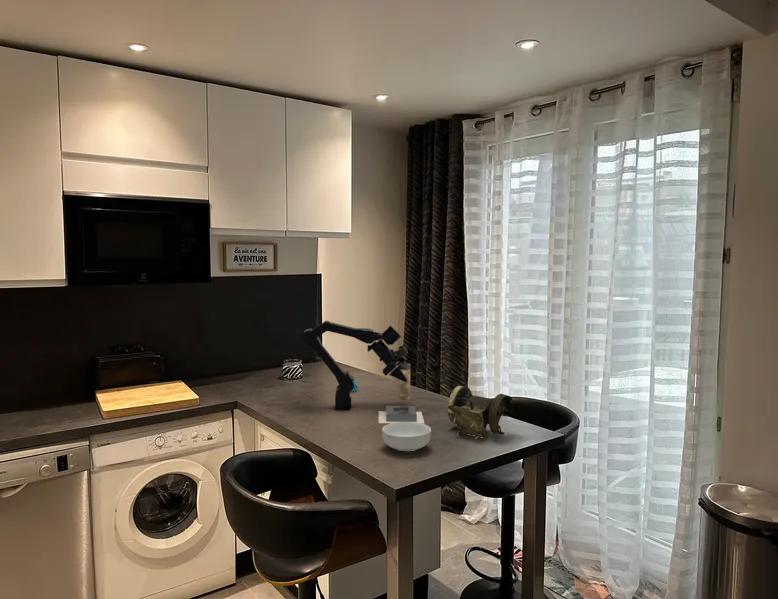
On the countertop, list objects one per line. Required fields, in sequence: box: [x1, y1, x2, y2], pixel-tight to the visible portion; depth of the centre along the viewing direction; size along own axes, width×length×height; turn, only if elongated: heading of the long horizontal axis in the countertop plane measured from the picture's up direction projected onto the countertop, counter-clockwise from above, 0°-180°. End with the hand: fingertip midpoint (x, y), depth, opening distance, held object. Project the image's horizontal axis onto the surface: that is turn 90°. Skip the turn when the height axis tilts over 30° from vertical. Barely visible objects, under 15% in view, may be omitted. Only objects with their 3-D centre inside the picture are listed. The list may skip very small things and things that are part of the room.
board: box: [378, 410, 426, 425], centre depth 225 cm, size 18×16×1 cm
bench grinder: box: [447, 385, 515, 440], centre depth 206 cm, size 20×22×20 cm
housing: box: [385, 405, 417, 422], centre depth 224 cm, size 12×12×3 cm
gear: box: [351, 378, 359, 393], centre depth 269 cm, size 11×6×10 cm
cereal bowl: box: [381, 422, 432, 452], centre depth 190 cm, size 17×17×7 cm
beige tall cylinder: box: [399, 362, 412, 401], centre depth 234 cm, size 4×4×15 cm
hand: (408, 380), depth 234 cm, fingers closed on beige tall cylinder, 4 cm apart
